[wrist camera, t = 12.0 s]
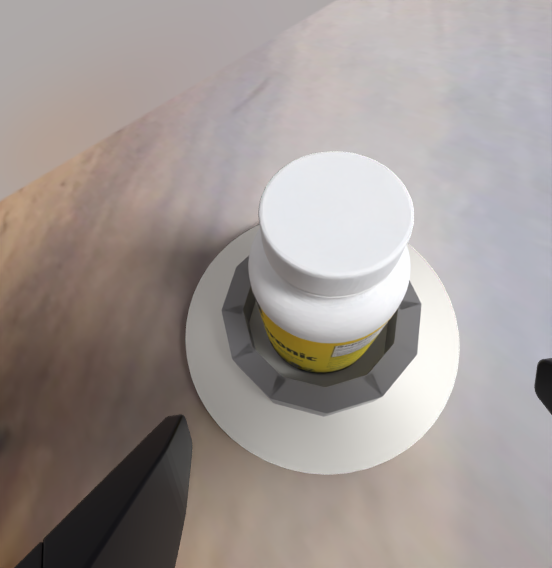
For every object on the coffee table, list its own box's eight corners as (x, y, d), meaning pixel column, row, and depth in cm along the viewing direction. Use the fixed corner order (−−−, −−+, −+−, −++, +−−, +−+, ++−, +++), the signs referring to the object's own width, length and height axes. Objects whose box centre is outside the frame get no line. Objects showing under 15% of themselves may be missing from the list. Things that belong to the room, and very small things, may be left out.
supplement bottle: (247, 308, 18) (197, 180, 9) (332, 261, 19) (360, 103, 10) (300, 399, 16) (301, 348, 7) (393, 342, 17) (496, 232, 8)
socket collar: (504, 321, 18) (540, 299, 15) (331, 551, 14) (338, 576, 12) (308, 185, 23) (309, 151, 20) (141, 332, 19) (114, 313, 16)
